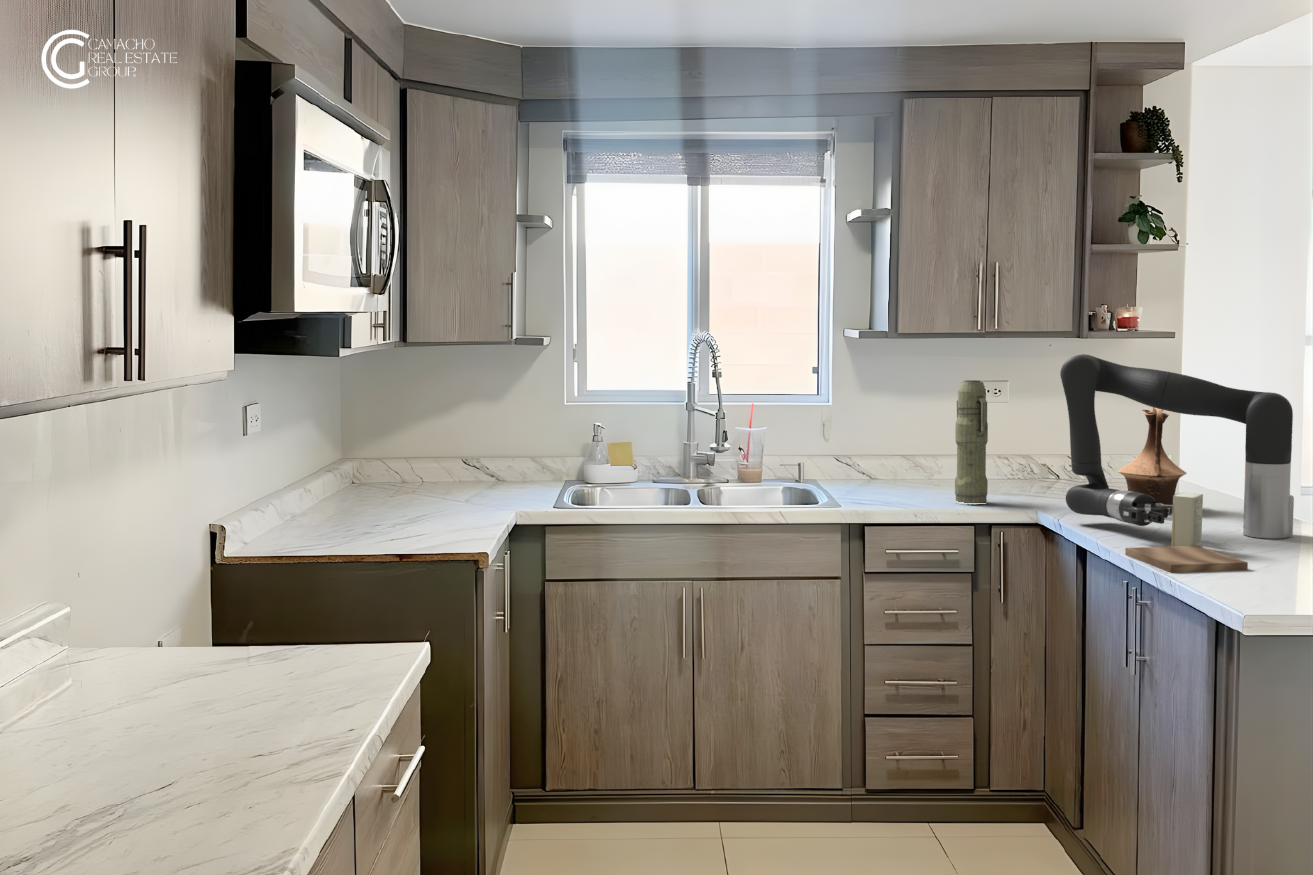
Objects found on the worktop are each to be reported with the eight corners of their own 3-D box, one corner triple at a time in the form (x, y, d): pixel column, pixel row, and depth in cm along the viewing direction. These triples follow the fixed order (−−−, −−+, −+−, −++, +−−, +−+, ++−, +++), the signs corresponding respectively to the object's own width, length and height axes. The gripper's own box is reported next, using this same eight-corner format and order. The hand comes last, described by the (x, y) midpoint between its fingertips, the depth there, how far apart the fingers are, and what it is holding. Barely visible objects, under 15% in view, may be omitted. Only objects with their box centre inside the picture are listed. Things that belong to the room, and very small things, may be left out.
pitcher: (1194, 515, 281) (1197, 408, 278) (1124, 514, 284) (1126, 408, 282) (1176, 505, 298) (1178, 404, 296) (1110, 504, 301) (1112, 404, 299)
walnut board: (1196, 552, 234) (1196, 545, 234) (1247, 569, 216) (1247, 562, 216) (1125, 554, 233) (1125, 547, 233) (1170, 572, 215) (1170, 564, 215)
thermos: (967, 499, 316) (968, 379, 313) (997, 504, 306) (998, 380, 303) (944, 501, 312) (945, 380, 309) (973, 506, 302) (974, 381, 299)
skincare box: (1181, 545, 242) (1182, 491, 241) (1202, 548, 239) (1203, 493, 238) (1170, 549, 238) (1171, 495, 236) (1191, 552, 234) (1193, 496, 233)
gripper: (1105, 493, 253) (1152, 502, 238) (1157, 490, 257) (1207, 499, 241) (1104, 524, 254) (1151, 536, 238) (1157, 521, 257) (1206, 532, 242)
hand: (1179, 517), depth 240 cm, fingers open, 8 cm apart
